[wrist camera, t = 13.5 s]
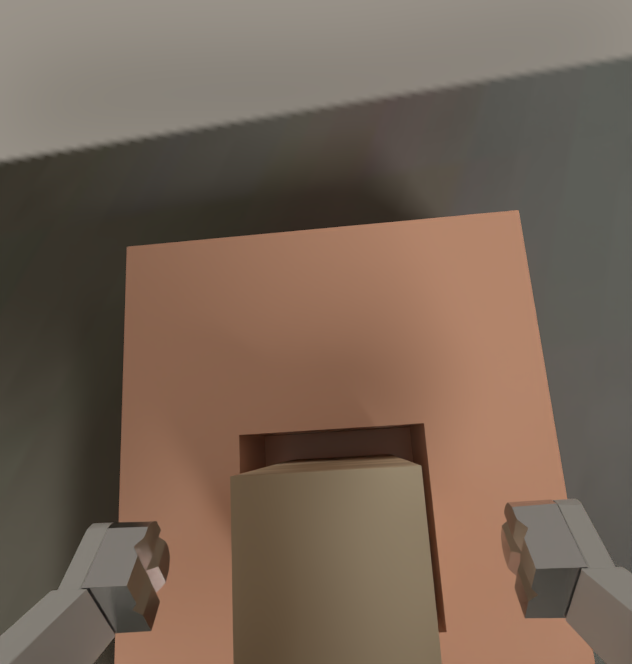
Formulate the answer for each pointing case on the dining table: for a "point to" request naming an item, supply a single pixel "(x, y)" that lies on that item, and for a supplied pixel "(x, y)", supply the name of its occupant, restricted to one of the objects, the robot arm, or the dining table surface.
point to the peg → (332, 563)
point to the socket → (340, 409)
